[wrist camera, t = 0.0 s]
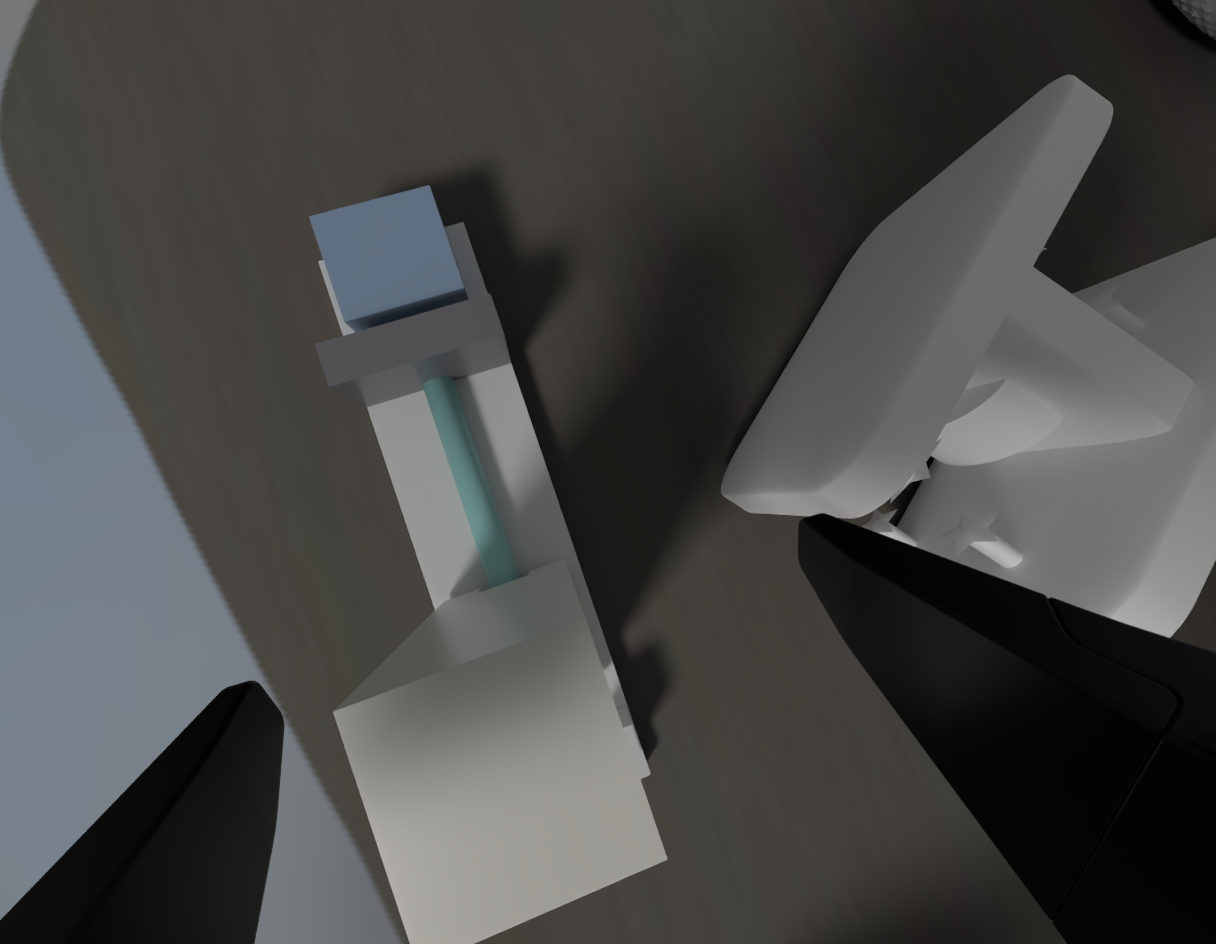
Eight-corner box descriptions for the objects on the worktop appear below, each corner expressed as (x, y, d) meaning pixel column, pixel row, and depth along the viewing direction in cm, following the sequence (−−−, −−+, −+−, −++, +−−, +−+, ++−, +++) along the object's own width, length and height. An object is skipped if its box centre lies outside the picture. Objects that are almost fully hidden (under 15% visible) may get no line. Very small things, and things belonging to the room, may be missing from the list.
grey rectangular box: (604, 675, 23) (667, 859, 11) (484, 722, 22) (418, 967, 10) (564, 558, 23) (585, 618, 11) (443, 601, 22) (332, 712, 10)
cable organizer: (863, 223, 26) (1109, 8, 15) (1040, 345, 27) (1405, 231, 16) (701, 493, 25) (837, 486, 13) (894, 615, 26) (1179, 709, 14)
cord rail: (646, 762, 24) (673, 831, 19) (511, 818, 23) (501, 904, 18) (464, 226, 24) (443, 156, 19) (325, 264, 24) (266, 201, 19)
